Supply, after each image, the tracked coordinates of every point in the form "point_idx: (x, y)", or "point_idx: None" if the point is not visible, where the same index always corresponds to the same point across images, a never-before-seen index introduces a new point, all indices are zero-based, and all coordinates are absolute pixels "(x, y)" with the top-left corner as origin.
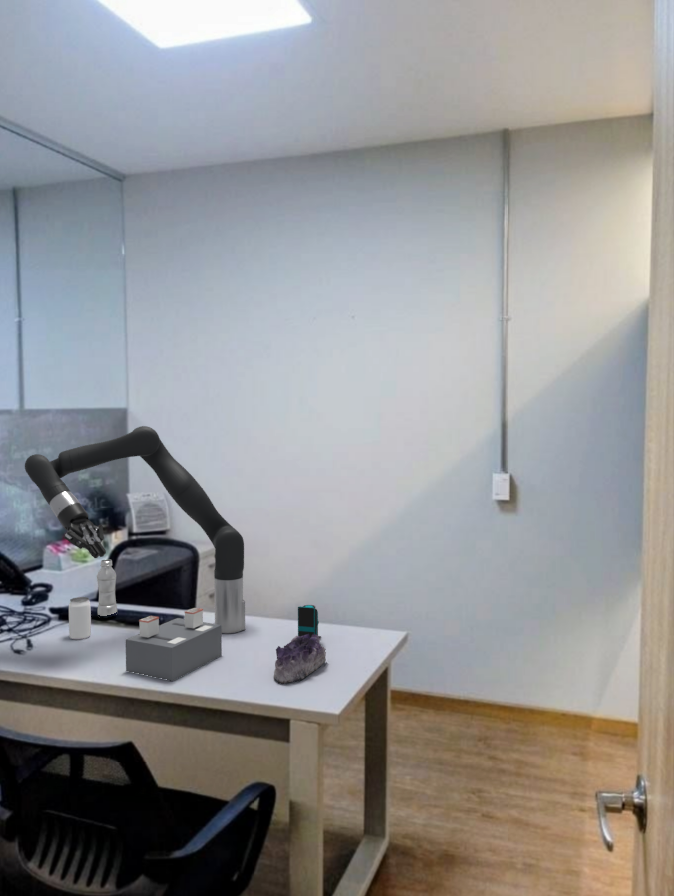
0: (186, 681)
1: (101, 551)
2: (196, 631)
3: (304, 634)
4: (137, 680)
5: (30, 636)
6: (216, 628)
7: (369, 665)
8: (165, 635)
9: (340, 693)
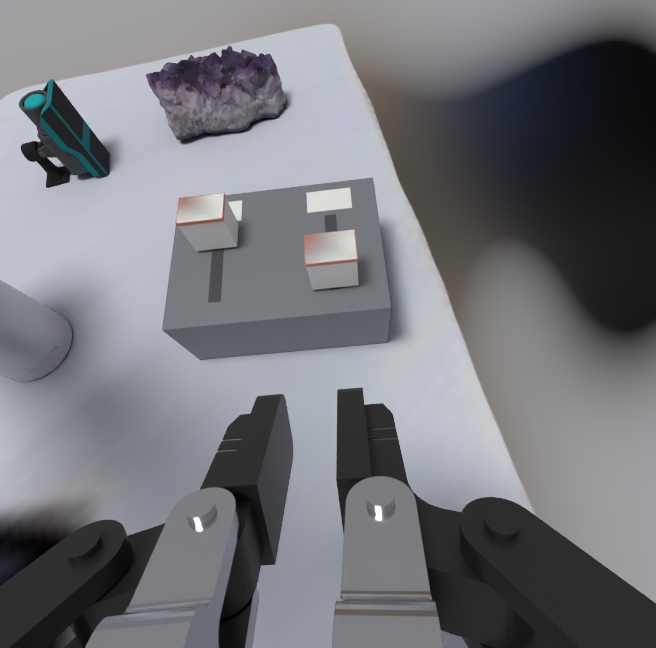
0: None
1: (282, 429)
2: (247, 212)
3: (93, 146)
4: (408, 285)
5: None
6: None
7: (163, 64)
8: None
9: (278, 43)
